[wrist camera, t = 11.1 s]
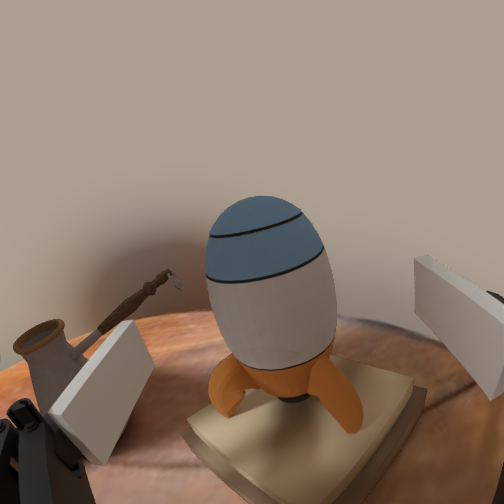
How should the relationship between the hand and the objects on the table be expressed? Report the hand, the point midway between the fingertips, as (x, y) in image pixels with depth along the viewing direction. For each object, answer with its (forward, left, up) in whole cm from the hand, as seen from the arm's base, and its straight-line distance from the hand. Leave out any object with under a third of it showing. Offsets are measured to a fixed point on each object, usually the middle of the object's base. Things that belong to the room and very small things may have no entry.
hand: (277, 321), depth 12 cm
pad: (-2, +2, -14) cm, 14 cm away
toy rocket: (-2, +2, -9) cm, 10 cm away
